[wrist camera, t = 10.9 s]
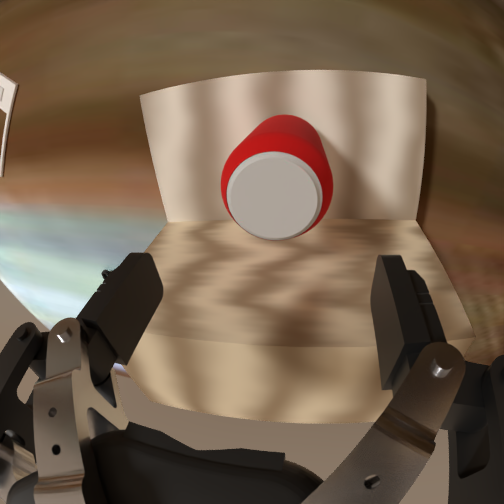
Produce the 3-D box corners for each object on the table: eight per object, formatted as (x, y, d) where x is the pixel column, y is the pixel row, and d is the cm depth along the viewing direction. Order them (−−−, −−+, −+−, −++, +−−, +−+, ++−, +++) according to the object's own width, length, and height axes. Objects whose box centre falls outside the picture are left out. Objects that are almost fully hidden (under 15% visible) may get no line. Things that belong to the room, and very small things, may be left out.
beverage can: (335, 142, 22) (362, 192, 13) (292, 192, 26) (284, 272, 16) (278, 99, 21) (257, 111, 11) (237, 154, 24) (191, 211, 15)
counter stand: (414, 78, 20) (545, 102, 5) (390, 290, 34) (416, 416, 19) (154, 92, 25) (13, 136, 10) (199, 287, 39) (150, 401, 25)
